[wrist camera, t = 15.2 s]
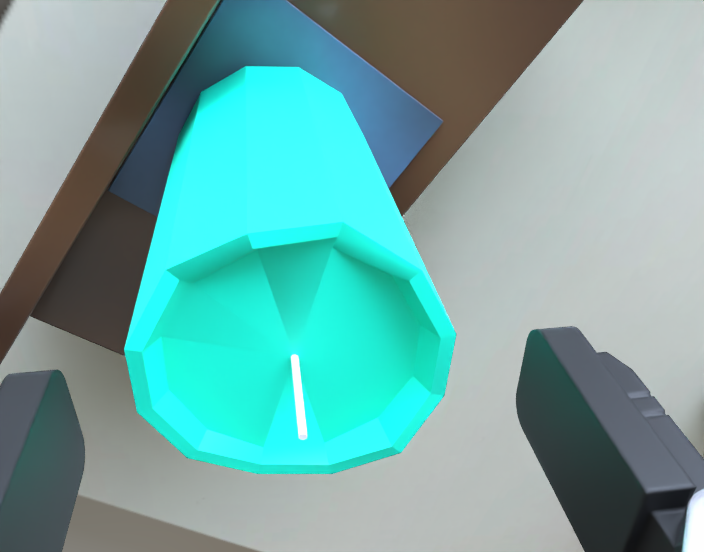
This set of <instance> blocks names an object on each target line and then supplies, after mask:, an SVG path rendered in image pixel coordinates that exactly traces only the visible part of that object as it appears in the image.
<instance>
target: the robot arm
mask: <svg viewBox="0 0 704 552" xmlns="http://www.w3.org/2000/svg"><path fill="white" fill-rule="evenodd" d="M516 408H517V414H518V418H519V422H520V424H521V427H522V429H523V431H524V433H525V435H526V437H527V439H528V441H529V443H530V445H531V447H532V449H533V451H534V453H535V455H536V457H537V459H538V461H539V463H540V465H541V466H542V468H543V470H544V472H545V474H546V476H547V478H548V480H549V482H550V484H551V486H552V488H553V490H554V492H555V494H556V496H557V498H558V500H559V502H560V504H561V506H562V508H563V510H564V512H565V514H566V516H567V517H568V519H569V521H570V523H571V525H572V527H573V529H574V531H575V533H576V535H577V537H578V539H579V541H580V543H581V545H582V547H583V549H584V551H585V552H704V459H703V458H702V456H701V455H700V454H699V453H698V451H697V450H696V449H695V448H694V446H693V445H692V444H691V442H690V441H689V440H688V439H687V437H686V436H685V435H684V434H683V432H682V431H681V430H680V429H679V427H678V426H677V425H676V424H675V422H674V421H673V420H672V419H671V417H670V416H669V415H665V410H664V409H663V407H662V406H661V405H660V404H659V402H658V401H657V400H656V399H655V397H654V396H653V397H651V395H650V391H649V390H648V389H647V387H646V386H645V385H644V384H643V382H642V381H641V380H640V378H639V377H638V376H637V375H636V373H635V372H634V371H633V370H632V369H631V368H629V367H628V366H626V365H625V364H623V363H622V362H620V361H619V360H618V359H616V358H615V357H613V356H612V355H610V354H609V353H607V352H600V353H596V351H595V350H594V349H593V347H592V346H591V345H590V343H589V342H588V341H587V339H586V338H585V337H584V335H583V334H582V333H581V331H580V330H579V329H578V328H576V327H573V326H570V327H559V328H547V329H536V330H532V331H531V332H530V333H529V335H528V338H527V342H526V347H525V352H524V357H523V362H522V367H521V372H520V377H519V382H518V387H517V393H516ZM84 463H85V445H84V438H83V434H82V431H81V428H80V424H79V421H78V418H77V415H76V412H75V409H74V405H73V402H72V399H71V396H70V393H69V390H68V386H67V383H66V380H65V378H64V375H63V374H62V372H61V371H59V370H48V371H37V372H25V373H14V374H9V375H7V376H6V377H5V378H4V380H3V382H2V384H1V386H0V552H62V549H63V546H64V541H65V538H66V534H67V531H68V527H69V523H70V520H71V516H72V512H73V509H74V505H75V501H76V497H77V494H78V490H79V486H80V483H81V479H82V475H83V471H84Z"/></svg>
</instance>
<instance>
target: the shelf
mask: <svg viewBox="0 0 704 552" xmlns="http://www.w3.org/2000/svg"><path fill="white" fill-rule="evenodd" d="M582 2H583V0H167V1H166V3H165V5H164V6H163V8H162V10H161V12H160V13H159V15H158V17H157V19H156V20H155V22H154V24H153V26H152V27H151V29H150V31H149V33H148V35H147V36H146V38H145V40H144V42H143V43H142V45H141V47H140V49H139V50H138V52H137V54H136V56H135V57H134V59H133V61H132V63H131V64H130V66H129V68H128V70H127V71H126V73H125V75H124V77H123V78H122V80H121V82H120V84H119V85H118V87H117V89H116V91H115V93H114V94H113V96H112V98H111V100H110V101H109V103H108V105H107V107H106V108H105V110H104V112H103V114H102V115H101V117H100V119H99V121H98V122H97V124H96V126H95V128H94V129H93V131H92V133H91V135H90V136H89V138H88V140H87V142H86V143H85V145H84V147H83V149H82V151H81V152H80V154H79V156H78V158H77V159H76V161H75V163H74V165H73V166H72V168H71V170H70V172H69V173H68V175H67V177H66V179H65V180H64V182H63V184H62V186H61V187H60V189H59V191H58V193H57V194H56V196H55V198H54V200H53V201H52V203H51V205H50V207H49V209H48V210H47V212H46V214H45V216H44V217H43V219H42V221H41V223H40V224H39V226H38V228H37V230H36V231H35V233H34V235H33V237H32V238H31V240H30V242H29V244H28V245H27V247H26V249H25V251H24V252H23V254H22V256H21V258H20V259H19V261H18V263H17V265H16V267H15V268H14V270H13V272H12V274H11V275H10V277H9V279H8V281H7V282H6V284H5V286H4V288H3V289H2V291H1V293H0V364H1V363H2V361H3V359H4V358H5V356H6V354H7V353H8V351H9V349H10V348H11V346H12V344H13V343H14V341H15V339H16V338H17V336H18V334H19V333H20V331H21V329H22V328H23V326H24V324H25V323H26V321H27V320H28V318H29V316H31V317H33V318H36V319H38V320H41V321H43V322H45V323H48V324H50V325H52V326H55V327H57V328H60V329H62V330H64V331H67V332H69V333H71V334H74V335H76V336H79V337H81V338H83V339H86V340H88V341H90V342H93V343H95V344H98V345H100V346H102V347H105V348H107V349H109V350H112V351H114V352H116V353H119V354H121V355H124V356H125V351H124V348H125V344H126V340H127V336H128V332H129V328H130V324H131V320H132V316H133V312H134V308H135V305H136V301H137V297H138V293H139V289H140V285H141V281H142V277H143V273H144V269H145V265H146V261H147V257H148V254H149V250H150V246H151V242H152V238H153V234H154V230H155V226H156V222H157V218H158V214H159V210H160V206H161V203H162V199H163V195H164V191H165V187H166V183H167V179H168V175H169V171H170V167H171V163H172V159H173V156H174V152H175V148H176V144H177V140H178V136H179V134H180V132H181V130H182V128H183V126H184V124H185V122H186V120H187V118H188V116H189V114H190V112H191V110H192V109H193V107H194V105H195V103H196V101H197V99H198V97H199V95H200V93H201V92H202V91H204V90H205V89H207V88H209V87H210V86H212V85H214V84H216V83H217V82H219V81H221V80H223V79H224V78H226V77H228V76H229V75H231V74H233V73H235V72H236V71H238V70H240V69H242V68H243V67H245V66H266V67H299V68H301V69H302V70H304V71H305V72H307V73H309V74H310V75H312V76H314V77H315V78H317V79H319V80H320V81H322V82H323V83H325V84H327V85H328V86H330V87H332V88H333V89H335V90H337V91H338V92H340V93H341V94H342V95H343V97H344V99H345V101H346V103H347V105H348V107H349V109H350V111H351V113H352V114H353V116H354V118H355V120H356V122H357V124H358V126H359V128H360V130H361V132H362V134H363V135H364V138H365V140H366V142H367V144H368V146H369V148H370V150H371V153H372V155H373V157H374V159H375V161H376V163H377V165H378V168H379V170H380V172H381V174H382V176H383V178H384V180H385V183H386V185H387V187H388V189H389V191H390V193H391V195H392V198H393V200H394V202H395V204H396V206H397V208H398V210H399V213H400V215H401V217H402V216H403V215H404V213H405V212H406V211H407V210H408V209H409V208H410V206H411V205H412V204H413V203H414V202H415V200H416V199H417V198H418V197H419V196H420V194H421V193H422V192H423V191H424V190H425V188H426V187H427V186H428V185H429V184H430V183H431V181H432V180H433V179H434V178H435V177H436V175H437V174H438V173H439V172H440V171H441V169H442V168H443V167H444V166H445V165H446V163H447V162H448V161H449V160H450V159H451V158H452V156H453V155H454V154H455V153H456V152H457V150H458V149H459V148H460V147H461V146H462V144H463V143H464V142H465V141H466V140H467V139H468V137H469V136H470V135H471V134H472V133H473V131H474V130H475V129H476V128H477V127H478V125H479V124H480V123H481V122H482V121H483V119H484V118H485V117H486V116H487V115H488V114H489V112H490V111H491V110H492V109H493V108H494V106H495V105H496V104H497V103H498V102H499V100H500V99H501V98H502V97H503V96H504V94H505V93H506V92H507V91H508V90H509V89H510V87H511V86H512V85H513V84H514V83H515V81H516V80H517V79H518V78H519V77H520V75H521V74H522V73H523V72H524V71H525V69H526V68H527V67H528V66H529V65H530V64H531V62H532V61H533V60H534V59H535V58H536V56H537V55H538V54H539V53H540V52H541V50H542V49H543V48H544V47H545V46H546V44H547V43H548V42H549V41H550V40H551V39H552V37H553V36H554V35H555V34H556V33H557V31H558V30H559V29H560V28H561V27H562V25H563V24H564V23H565V22H566V21H567V20H568V18H569V17H570V16H571V15H572V14H573V12H574V11H575V10H576V9H577V8H578V6H579V5H580V4H581V3H582Z"/></svg>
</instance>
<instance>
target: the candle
mask: <svg viewBox="0 0 704 552" xmlns="http://www.w3.org/2000/svg"><path fill="white" fill-rule="evenodd" d="M455 339H456V332H455V330H454V328H453V326H452V324H451V322H450V320H449V317H448V315H447V313H446V311H445V309H444V307H443V305H442V302H441V300H440V298H439V296H438V294H437V292H436V290H435V287H434V285H433V283H432V281H431V279H430V277H429V275H428V272H427V270H426V268H425V266H424V264H423V262H422V260H421V257H420V255H419V253H418V251H417V249H416V247H415V245H414V242H413V240H412V238H411V236H410V234H409V232H408V230H407V227H406V225H405V223H404V221H403V219H402V217H401V215H400V213H399V210H398V208H397V206H396V204H395V202H394V200H393V198H392V195H391V193H390V191H389V189H388V187H387V185H386V183H385V180H384V178H383V176H382V174H381V172H380V170H379V168H378V165H377V163H376V161H375V159H374V157H373V155H372V153H371V150H370V148H369V146H368V144H367V142H366V140H365V138H364V135H363V134H362V132H361V130H360V128H359V126H358V124H357V122H356V120H355V118H354V116H353V114H352V113H351V111H350V109H349V107H348V105H347V103H346V101H345V99H344V97H343V95H342V94H341V93H340V92H338V91H337V90H335V89H333V88H332V87H330V86H328V85H327V84H325V83H323V82H322V81H320V80H319V79H317V78H315V77H314V76H312V75H310V74H309V73H307V72H305V71H304V70H302V69H301V68H299V67H266V66H245V67H243V68H242V69H240V70H238V71H236V72H235V73H233V74H231V75H229V76H228V77H226V78H224V79H223V80H221V81H219V82H217V83H216V84H214V85H212V86H210V87H209V88H207V89H205V90H204V91H202V92H201V93H200V95H199V97H198V99H197V101H196V103H195V105H194V107H193V109H192V110H191V112H190V114H189V116H188V118H187V120H186V122H185V124H184V126H183V128H182V130H181V132H180V134H179V136H178V140H177V144H176V148H175V152H174V156H173V159H172V163H171V167H170V171H169V175H168V179H167V183H166V187H165V191H164V195H163V199H162V203H161V206H160V210H159V214H158V218H157V222H156V226H155V230H154V234H153V238H152V242H151V246H150V250H149V254H148V257H147V261H146V265H145V269H144V273H143V277H142V281H141V285H140V289H139V293H138V297H137V301H136V305H135V308H134V312H133V316H132V320H131V324H130V328H129V332H128V336H127V340H126V344H125V348H124V351H125V356H126V361H127V366H128V371H129V376H130V380H131V385H132V390H133V395H134V400H135V405H136V410H137V413H138V414H140V415H141V416H142V417H143V418H144V419H145V420H146V421H147V422H148V423H149V424H151V425H152V426H153V427H154V428H155V429H156V430H157V431H158V432H159V433H160V434H161V435H163V436H164V437H165V438H166V439H167V440H168V441H169V442H170V443H171V444H172V445H174V446H175V447H176V448H177V449H178V450H179V451H180V452H181V453H182V454H183V455H184V456H186V457H187V458H189V459H194V460H198V461H203V462H207V463H211V464H216V465H220V466H225V467H229V468H234V469H238V470H242V471H247V472H251V473H256V474H333V473H337V472H340V471H343V470H347V469H350V468H353V467H356V466H360V465H363V464H366V463H369V462H373V461H376V460H379V459H382V458H386V457H389V456H392V455H396V454H399V453H401V452H402V451H403V449H404V448H405V447H406V445H407V444H408V443H409V442H410V440H411V439H412V438H413V436H414V435H415V434H416V432H417V431H418V430H419V428H420V427H421V426H422V424H423V423H424V422H425V420H426V419H427V418H428V416H429V415H430V414H431V413H432V411H433V410H434V409H435V407H436V406H437V405H438V403H439V402H440V401H441V399H442V398H443V397H444V395H445V390H446V385H447V379H448V374H449V369H450V364H451V359H452V354H453V349H454V344H455Z"/></svg>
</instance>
